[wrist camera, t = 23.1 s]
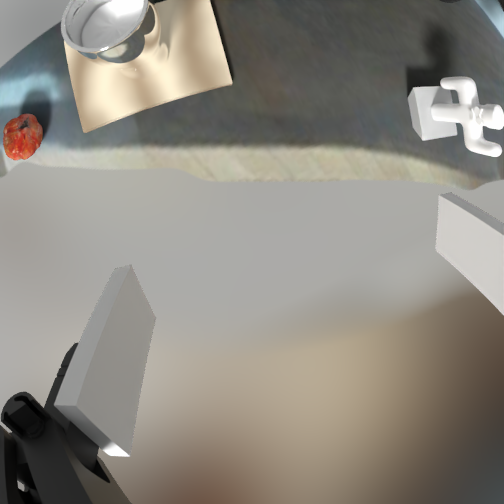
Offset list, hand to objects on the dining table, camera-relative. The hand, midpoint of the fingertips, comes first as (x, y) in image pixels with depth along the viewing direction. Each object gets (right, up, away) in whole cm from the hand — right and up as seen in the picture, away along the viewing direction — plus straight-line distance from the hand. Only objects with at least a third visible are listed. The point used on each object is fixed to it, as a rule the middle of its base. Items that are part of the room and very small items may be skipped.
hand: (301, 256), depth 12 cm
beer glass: (-14, +22, +16) cm, 31 cm away
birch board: (-14, +23, +16) cm, 32 cm away
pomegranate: (-30, +15, +17) cm, 38 cm away
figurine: (+22, +20, +24) cm, 38 cm away
